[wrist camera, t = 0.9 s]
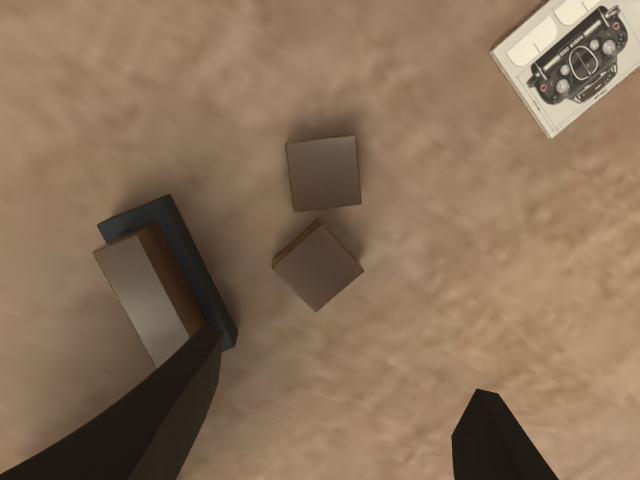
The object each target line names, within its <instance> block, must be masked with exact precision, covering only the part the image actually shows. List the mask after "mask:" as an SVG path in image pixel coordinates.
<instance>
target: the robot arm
mask: <svg viewBox="0 0 640 480" xmlns="http://www.w3.org/2000/svg"><path fill="white" fill-rule="evenodd" d="M223 338H224V331H223V330H219V329H214V328H210V327H206V326H202V327H200V328H198V330H197V331H196V332H195V333H194V334H193V335H192V336H191V337H190V338H189V339H188V340H187V341H186V342H185V343H184V344H183V345H182V346H181V347H180V348H179V349H178V350H177V351H176V352H175V353H174V354H173V355H172V356H171V357H170V358H168V359H167V360H166V361H165V362H164V363H163V364H162V365H161V366H160V367H158V368H157V369H156V370H155V371H154V372H153V373H152V374H151V375H149V376H148V377H147V378H146V379H145V380H144V381H142V382H141V383H140V384H139V385H137V386H136V387H135V388H134V389H132V390H131V391H130V392H129V393H127V394H126V395H125V396H124V397H122V398H121V399H120V400H118V401H117V402H116V403H114V404H113V405H112V406H110V407H109V408H108V409H106V410H105V411H104V412H102V413H101V414H99V415H98V416H96V417H95V418H94V419H92V420H91V421H89V422H88V423H86V424H85V425H83V426H82V427H80V428H79V429H77V430H76V431H74V432H72V433H71V434H69V435H68V436H66V437H65V438H63V439H61V440H60V441H58V442H57V443H55V444H53V445H52V446H50V447H48V448H47V449H45V450H43V451H42V452H40V453H38V454H36V455H35V456H33V457H31V458H29V459H27V460H25V461H24V462H22V463H20V464H18V465H16V466H14V467H13V468H11V469H9V470H7V471H5V472H3V473H2V474H0V480H176V478H177V476H178V474H179V472H180V470H181V468H182V466H183V464H184V462H185V460H186V458H187V456H188V453H189V451H190V449H191V447H192V445H193V443H194V441H195V439H196V437H197V435H198V433H199V430H200V428H201V426H202V424H203V422H204V420H205V418H206V415H207V413H208V410H209V407H210V404H211V401H212V399H213V396H214V393H215V390H216V387H217V384H218V380H219V371H220V363H221V354H222V346H223ZM452 457H453V470H454V478H455V480H559V479H558V478H557V476H556V475H555V474H554V472H553V471H552V470H551V468H550V467H549V466H548V464H547V463H546V461H545V460H544V459H543V457H542V456H541V454H540V453H539V452H538V450H537V449H536V447H535V446H534V445H533V443H532V442H531V440H530V439H529V437H528V436H527V434H526V433H525V432H524V430H523V429H522V427H521V426H520V424H519V423H518V421H517V420H516V418H515V417H514V415H513V414H512V413H511V411H510V410H509V408H508V407H507V405H506V404H505V402H504V401H503V400H502V398H501V397H500V395H499V394H498V393H494V392H489V391H485V390H481V389H476V391H475V393H474V394H473V396H472V398H471V400H470V402H469V404H468V406H467V408H466V409H465V411H464V413H463V415H462V417H461V419H460V421H459V423H458V424H457V426H456V428H455V430H454V432H453V434H452Z"/></svg>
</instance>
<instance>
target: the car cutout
mask: <svg viewBox="0 0 640 480" xmlns="http://www.w3.org/2000/svg"><path fill="white" fill-rule="evenodd" d="M489 53H490V55H491V56H492V58H493V59H494V61H495V62H496V63H497V65H498V66H499V68H500V69H501V71H502V72H503V74H504V75H505V77H506V78H507V80H508V81H509V82H510V84H511V85H512V87H513V88H514V90H515V91H516V93H517V94H518V96H519V97H520V99H521V100H522V101H523V103H524V104H525V106H526V107H527V109H528V110H529V112H530V113H531V115H532V116H533V118H534V119H535V120H536V122H537V123H538V125H539V126H540V128H541V129H542V131H543V132H544V134H545V135H546V137H547V138H548V139H553V138H554V137H555V136H556V135H557V134H559V133H560V132H561V131H562V130H563V129H565V128H566V127H567V126H568V125H569V124H571V123H572V122H573V121H574V120H575V119H577V118H578V117H579V116H580V115H581V114H583V113H584V112H585V111H586V110H587V109H589V108H590V107H591V106H592V105H593V104H594V103H596V102H597V101H598V100H599V99H600V98H602V97H603V96H604V95H605V94H606V93H608V92H609V91H610V90H611V89H612V88H614V87H615V86H616V85H617V84H618V83H620V82H621V81H622V80H623V79H624V78H626V77H627V76H628V75H629V74H630V73H632V72H633V71H634V70H635V69H636V68H638V67H639V66H640V0H548V1H547V2H546V3H544V4H543V5H542V6H541V7H540V8H539V9H538V10H536V11H535V12H534V13H533V14H532V15H531V16H530V17H528V18H527V19H526V20H525V21H524V22H523V23H522V24H520V25H519V26H518V27H517V28H516V29H515V30H514V31H512V32H511V33H510V34H509V35H508V36H507V37H506V38H504V39H503V40H502V41H501V42H500V43H499V44H498V45H496V46H495V47H494V48H493V49H492V50H491V51H490V52H489Z"/></svg>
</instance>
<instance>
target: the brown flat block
mask: <svg viewBox="0 0 640 480" xmlns="http://www.w3.org/2000/svg"><path fill="white" fill-rule="evenodd" d="M285 146H286V154H287V161H288V169H289V177H290V184H291V192H292V200H293V208H294V212H303V211H311V210H319V209H327V208H335V207H343V206H351V205H359V204H361V192H360V181H359V169H358V158H357V147H356V136H355V135H342V136H334V137H325V138H317V139H308V140H300V141H291V142H285Z"/></svg>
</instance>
